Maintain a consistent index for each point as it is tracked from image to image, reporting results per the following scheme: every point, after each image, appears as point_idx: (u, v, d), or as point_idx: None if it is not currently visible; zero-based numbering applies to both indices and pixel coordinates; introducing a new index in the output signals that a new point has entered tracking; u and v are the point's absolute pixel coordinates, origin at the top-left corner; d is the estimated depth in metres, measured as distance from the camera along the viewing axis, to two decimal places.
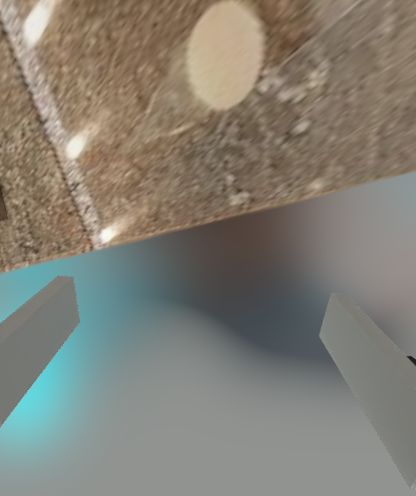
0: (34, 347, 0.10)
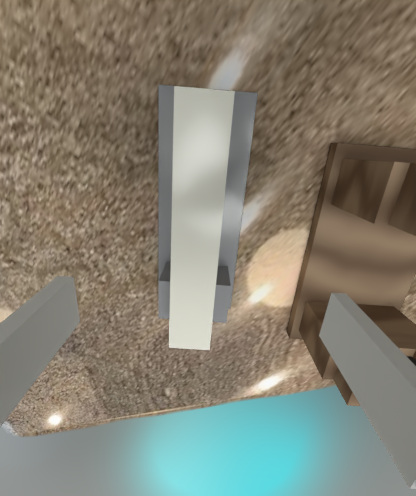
0: (34, 347, 0.10)
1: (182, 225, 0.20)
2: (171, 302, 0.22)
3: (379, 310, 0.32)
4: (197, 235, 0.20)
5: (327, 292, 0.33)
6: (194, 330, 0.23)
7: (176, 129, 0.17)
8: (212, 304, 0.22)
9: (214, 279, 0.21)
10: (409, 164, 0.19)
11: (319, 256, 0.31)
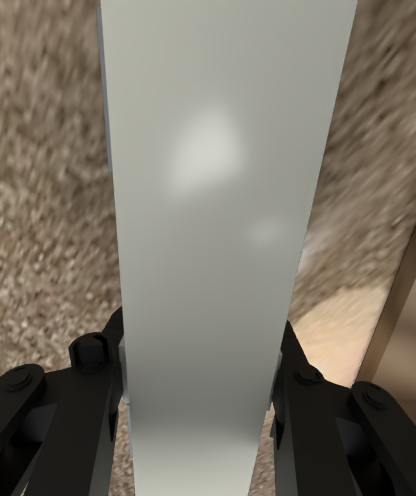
0: None
1: (159, 380, 0.07)
2: None
3: None
4: (201, 402, 0.07)
5: (413, 387, 0.20)
6: None
7: (119, 89, 0.04)
8: None
9: (245, 483, 0.09)
10: None
11: (407, 335, 0.18)
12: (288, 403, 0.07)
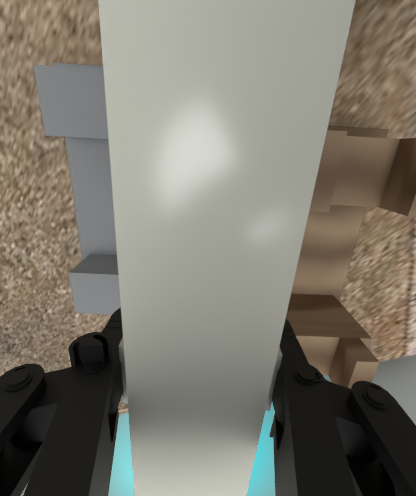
0: None
1: (158, 381, 0.07)
2: None
3: (315, 299, 0.31)
4: (200, 403, 0.07)
5: None
6: None
7: (117, 89, 0.04)
8: None
9: (244, 483, 0.09)
10: None
11: None
12: (288, 403, 0.07)
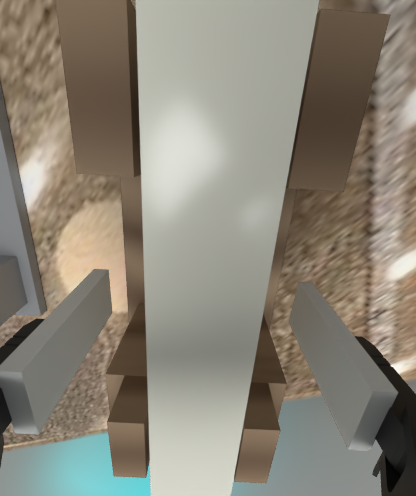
0: (81, 332, 0.10)
1: (170, 331, 0.09)
2: (152, 458, 0.11)
3: None
4: (203, 350, 0.09)
5: None
6: None
7: (147, 108, 0.06)
8: (233, 461, 0.11)
9: (239, 424, 0.10)
10: None
11: (137, 240, 0.21)
12: (413, 443, 0.06)
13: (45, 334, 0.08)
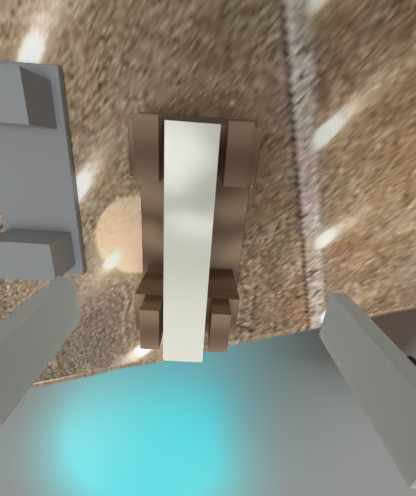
0: (34, 347, 0.10)
1: (174, 245, 0.21)
2: (164, 317, 0.23)
3: (213, 272, 0.35)
4: (188, 255, 0.21)
5: None
6: (187, 343, 0.24)
7: (167, 158, 0.18)
8: (204, 319, 0.23)
9: (205, 295, 0.23)
10: None
11: (150, 220, 0.33)
12: None
13: None
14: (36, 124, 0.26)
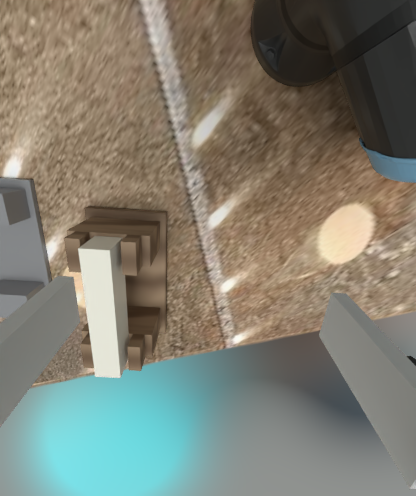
0: (34, 347, 0.10)
1: (92, 310, 0.35)
2: (92, 351, 0.37)
3: (145, 310, 0.49)
4: (101, 316, 0.35)
5: None
6: (109, 366, 0.38)
7: (82, 266, 0.32)
8: (117, 351, 0.37)
9: (116, 338, 0.36)
10: (75, 232, 0.36)
11: None
12: None
13: None
14: (14, 222, 0.40)
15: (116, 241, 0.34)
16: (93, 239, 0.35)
